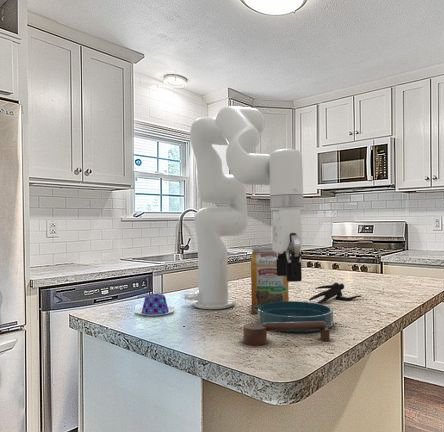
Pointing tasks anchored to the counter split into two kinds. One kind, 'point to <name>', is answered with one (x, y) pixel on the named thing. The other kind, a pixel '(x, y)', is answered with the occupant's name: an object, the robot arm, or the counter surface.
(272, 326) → the ladle
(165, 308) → the pudding
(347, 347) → the counter surface
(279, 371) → the counter surface
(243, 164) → the robot arm
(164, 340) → the counter surface
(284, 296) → the milk carton
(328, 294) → the dark humanoid figurine
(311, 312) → the bowl
